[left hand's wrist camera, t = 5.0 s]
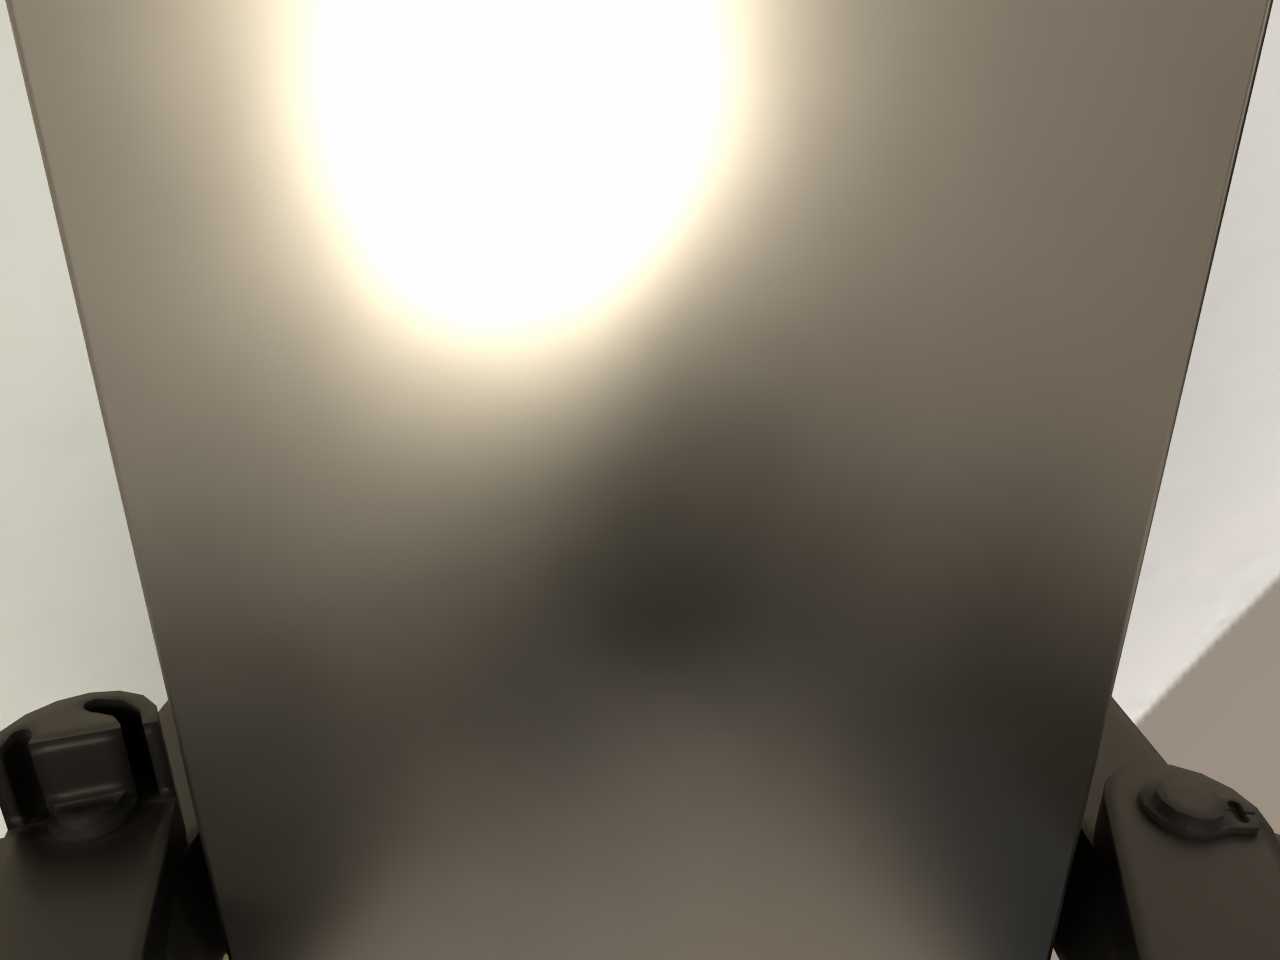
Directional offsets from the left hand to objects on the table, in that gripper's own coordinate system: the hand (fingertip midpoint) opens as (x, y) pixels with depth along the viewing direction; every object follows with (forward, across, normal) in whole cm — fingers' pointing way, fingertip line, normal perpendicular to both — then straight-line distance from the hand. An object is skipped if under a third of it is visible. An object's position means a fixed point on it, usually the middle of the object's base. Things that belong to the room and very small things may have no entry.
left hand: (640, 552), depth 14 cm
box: (+1, 0, -7) cm, 7 cm away
